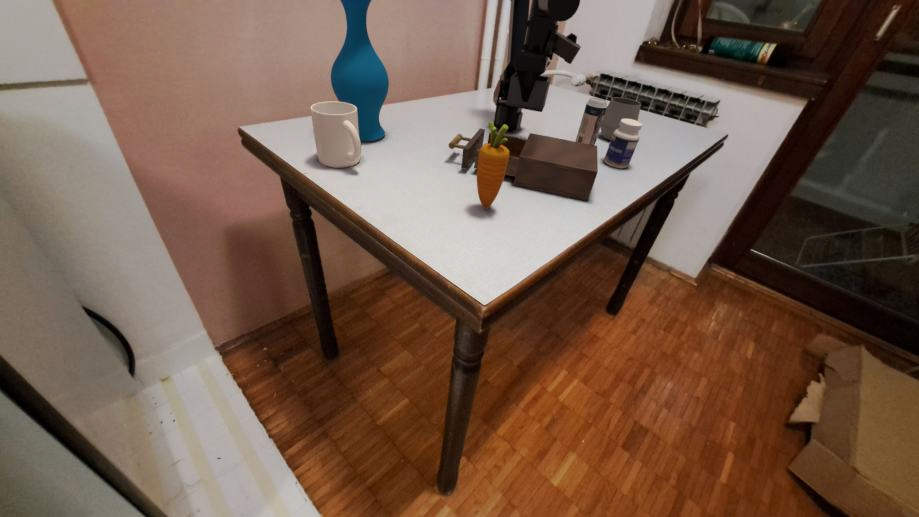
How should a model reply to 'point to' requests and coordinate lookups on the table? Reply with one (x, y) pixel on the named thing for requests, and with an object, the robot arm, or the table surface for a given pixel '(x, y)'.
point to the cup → (618, 114)
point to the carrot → (492, 166)
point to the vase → (360, 72)
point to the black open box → (536, 97)
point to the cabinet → (557, 166)
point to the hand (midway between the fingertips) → (527, 98)
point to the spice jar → (591, 121)
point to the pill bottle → (623, 143)
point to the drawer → (476, 142)
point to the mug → (336, 133)
